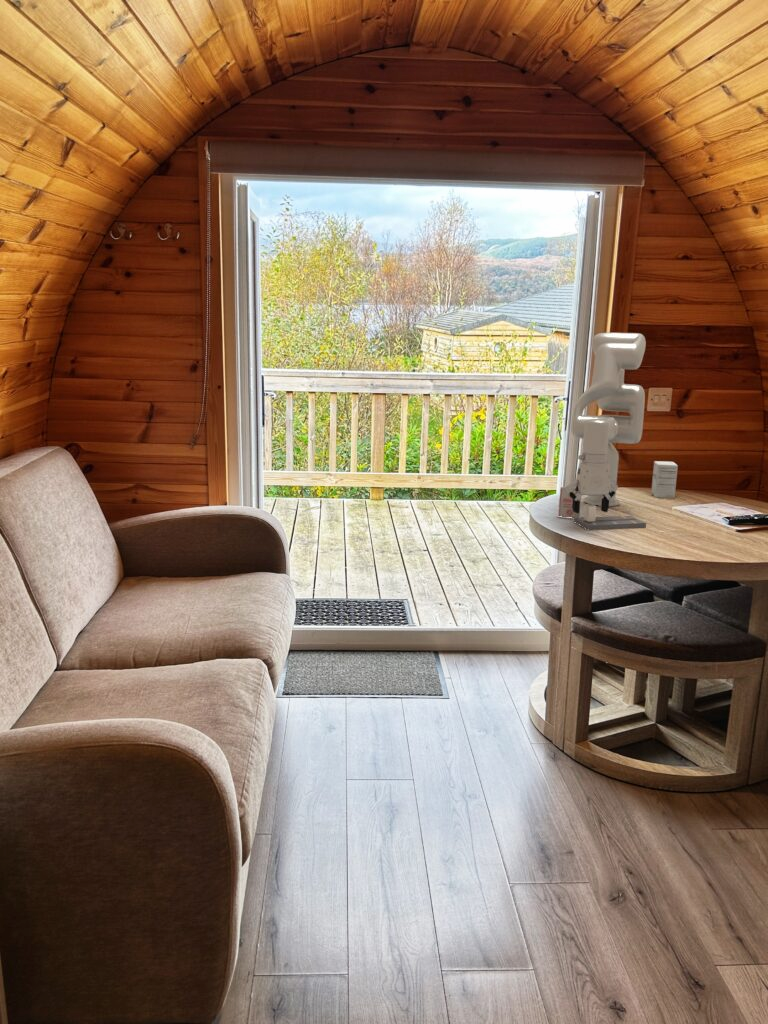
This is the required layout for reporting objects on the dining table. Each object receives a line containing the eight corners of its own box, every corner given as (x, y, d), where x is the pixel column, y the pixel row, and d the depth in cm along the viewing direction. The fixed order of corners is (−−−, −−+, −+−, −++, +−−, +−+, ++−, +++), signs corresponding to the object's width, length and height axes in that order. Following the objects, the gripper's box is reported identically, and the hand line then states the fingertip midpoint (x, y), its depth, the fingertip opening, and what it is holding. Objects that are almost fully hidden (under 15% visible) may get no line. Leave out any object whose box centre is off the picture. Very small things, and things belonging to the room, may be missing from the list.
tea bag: (559, 515, 270) (561, 486, 267) (579, 517, 268) (582, 487, 265) (558, 517, 266) (560, 488, 264) (579, 519, 264) (581, 489, 262)
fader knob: (583, 519, 257) (585, 503, 256) (590, 518, 258) (592, 503, 256) (588, 521, 254) (589, 506, 253) (595, 521, 255) (596, 505, 253)
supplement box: (650, 493, 306) (653, 460, 303) (670, 494, 305) (674, 461, 302) (654, 497, 299) (657, 464, 296) (675, 498, 298) (678, 464, 295)
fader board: (573, 522, 260) (574, 517, 260) (630, 520, 264) (630, 515, 264) (587, 530, 251) (587, 525, 251) (645, 527, 255) (646, 522, 255)
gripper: (573, 461, 246) (569, 515, 250) (625, 460, 249) (620, 513, 253) (563, 457, 253) (559, 510, 257) (614, 456, 256) (609, 508, 260)
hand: (590, 511), depth 255 cm, fingers open, 9 cm apart
